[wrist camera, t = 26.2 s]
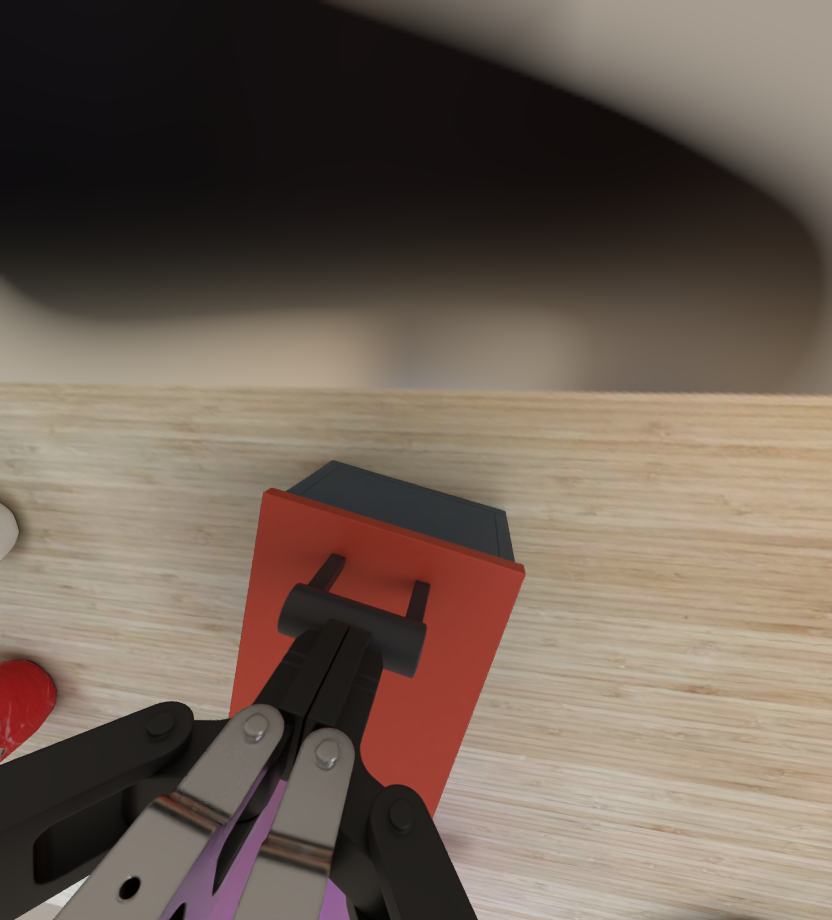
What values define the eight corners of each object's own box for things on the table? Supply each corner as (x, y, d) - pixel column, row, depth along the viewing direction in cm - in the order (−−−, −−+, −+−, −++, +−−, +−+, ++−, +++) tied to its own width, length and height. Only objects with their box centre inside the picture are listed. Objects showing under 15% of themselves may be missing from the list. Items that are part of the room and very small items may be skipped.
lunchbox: (332, 460, 26) (269, 501, 18) (505, 511, 25) (518, 579, 17) (295, 642, 30) (231, 741, 22) (442, 693, 29) (429, 815, 21)
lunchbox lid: (271, 486, 18) (188, 535, 13) (524, 564, 17) (544, 651, 12) (230, 742, 22) (156, 855, 17) (429, 816, 21) (414, 960, 16)
